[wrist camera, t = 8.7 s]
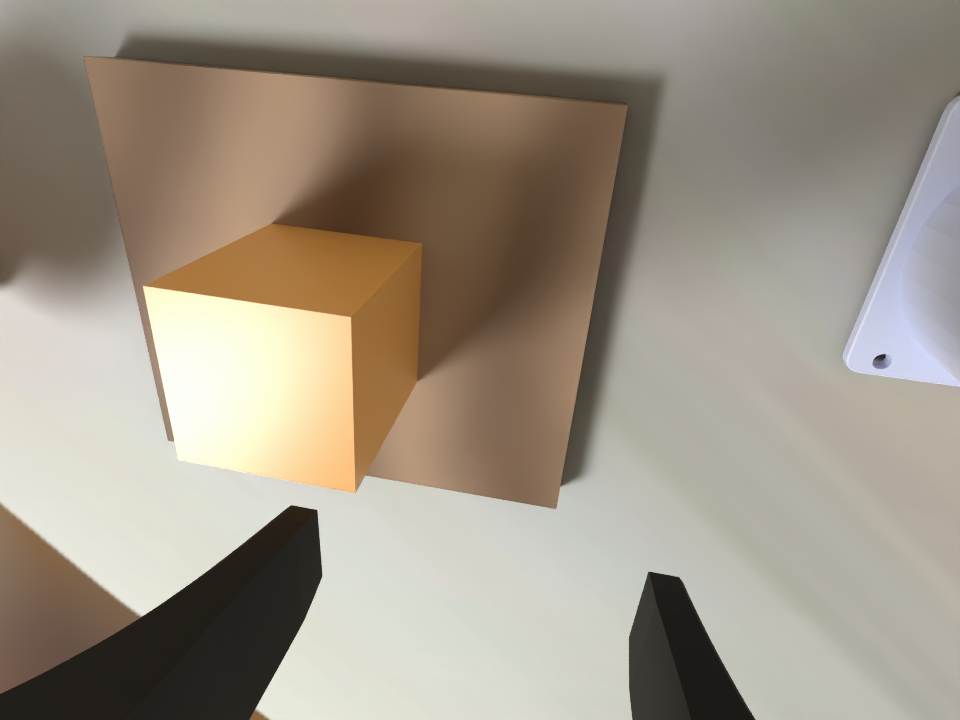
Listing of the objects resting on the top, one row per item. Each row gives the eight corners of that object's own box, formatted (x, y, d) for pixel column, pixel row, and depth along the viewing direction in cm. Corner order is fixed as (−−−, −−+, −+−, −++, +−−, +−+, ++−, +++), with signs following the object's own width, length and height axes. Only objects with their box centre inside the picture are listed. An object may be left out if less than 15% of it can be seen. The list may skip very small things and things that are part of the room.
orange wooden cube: (422, 243, 18) (350, 317, 13) (417, 382, 20) (355, 493, 15) (271, 223, 18) (142, 285, 13) (283, 360, 21) (178, 459, 15)
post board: (625, 103, 16) (640, 119, 11) (557, 488, 23) (548, 607, 18) (112, 57, 18) (-71, 53, 13) (186, 424, 25) (82, 515, 20)
